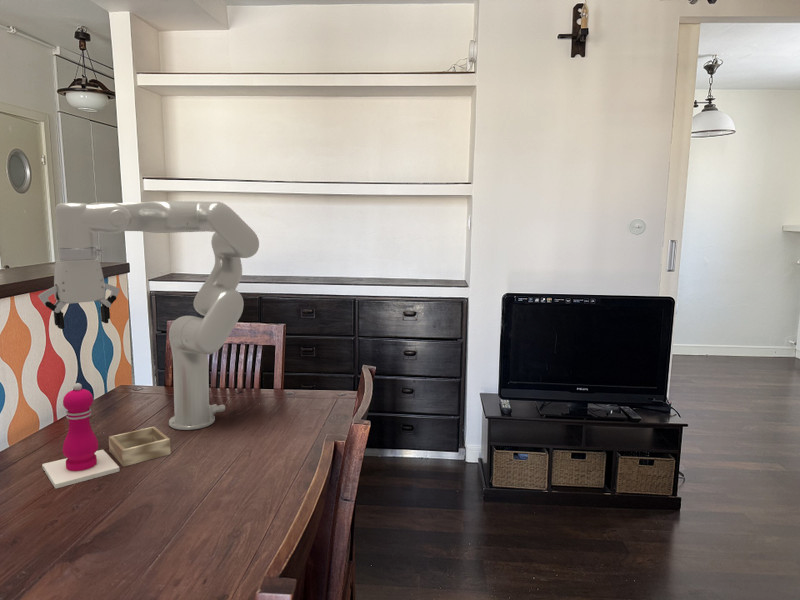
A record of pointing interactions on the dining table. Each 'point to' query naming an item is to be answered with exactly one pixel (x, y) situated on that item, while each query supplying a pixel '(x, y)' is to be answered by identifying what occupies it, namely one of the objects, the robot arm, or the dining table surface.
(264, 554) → the dining table surface
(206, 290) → the robot arm
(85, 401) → the pepper mill
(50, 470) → the tile
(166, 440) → the holder
